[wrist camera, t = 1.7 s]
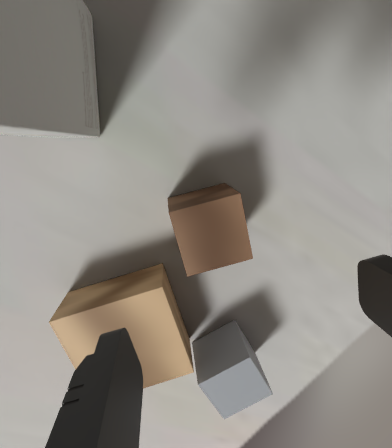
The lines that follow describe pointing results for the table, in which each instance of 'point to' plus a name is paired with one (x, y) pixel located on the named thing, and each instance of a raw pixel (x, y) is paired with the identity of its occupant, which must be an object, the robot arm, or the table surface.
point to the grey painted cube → (229, 370)
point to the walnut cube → (210, 228)
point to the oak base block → (128, 322)
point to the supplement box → (47, 69)
